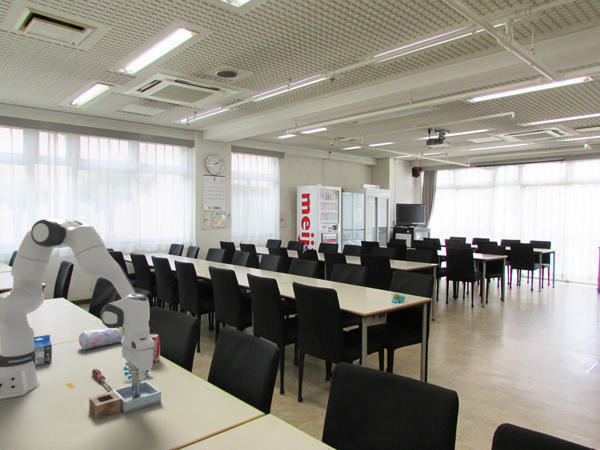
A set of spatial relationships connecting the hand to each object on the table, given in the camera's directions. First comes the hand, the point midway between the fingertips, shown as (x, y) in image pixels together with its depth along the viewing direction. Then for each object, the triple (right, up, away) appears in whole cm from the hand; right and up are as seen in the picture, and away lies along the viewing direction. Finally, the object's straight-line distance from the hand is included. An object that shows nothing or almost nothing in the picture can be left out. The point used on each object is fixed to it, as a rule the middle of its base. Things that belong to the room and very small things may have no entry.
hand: (136, 375), depth 151 cm
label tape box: (-58, -8, +36) cm, 69 cm away
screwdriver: (-20, -9, +16) cm, 28 cm away
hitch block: (-8, -10, -7) cm, 15 cm away
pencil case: (-43, -8, +63) cm, 77 cm away
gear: (-8, -9, +23) cm, 26 cm away
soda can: (-9, -9, +42) cm, 44 cm away
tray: (0, -10, 0) cm, 10 cm away
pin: (0, -9, 0) cm, 9 cm away
